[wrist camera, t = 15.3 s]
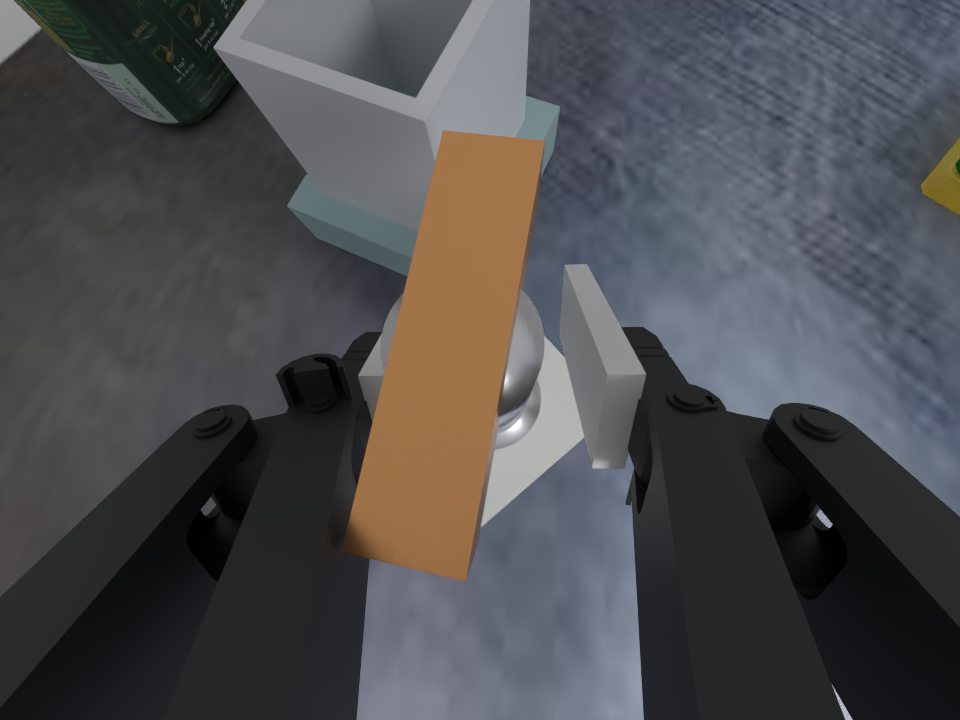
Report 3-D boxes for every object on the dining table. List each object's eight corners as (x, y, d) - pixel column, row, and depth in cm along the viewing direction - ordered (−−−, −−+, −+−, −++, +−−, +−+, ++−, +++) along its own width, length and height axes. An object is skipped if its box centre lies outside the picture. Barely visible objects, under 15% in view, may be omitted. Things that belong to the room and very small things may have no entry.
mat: (527, 321, 19) (528, 318, 19) (610, 412, 18) (613, 411, 18) (405, 423, 19) (401, 422, 18) (482, 524, 18) (481, 527, 17)
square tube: (399, 99, 23) (318, -152, 13) (553, 152, 21) (589, -90, 12) (317, 238, 21) (157, 68, 12) (476, 306, 20) (445, 175, 10)
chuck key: (463, 326, 19) (378, 124, 7) (547, 340, 19) (616, 147, 6) (434, 469, 18) (264, 533, 6) (524, 488, 17) (554, 602, 5)
